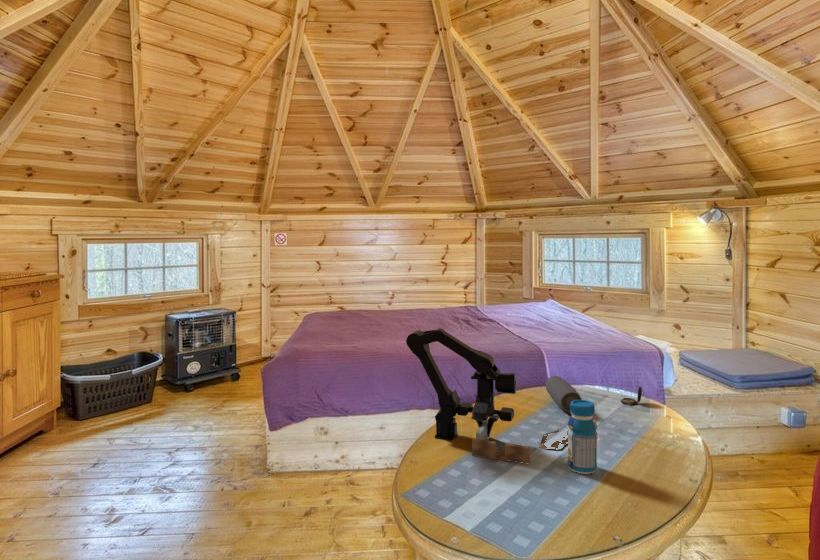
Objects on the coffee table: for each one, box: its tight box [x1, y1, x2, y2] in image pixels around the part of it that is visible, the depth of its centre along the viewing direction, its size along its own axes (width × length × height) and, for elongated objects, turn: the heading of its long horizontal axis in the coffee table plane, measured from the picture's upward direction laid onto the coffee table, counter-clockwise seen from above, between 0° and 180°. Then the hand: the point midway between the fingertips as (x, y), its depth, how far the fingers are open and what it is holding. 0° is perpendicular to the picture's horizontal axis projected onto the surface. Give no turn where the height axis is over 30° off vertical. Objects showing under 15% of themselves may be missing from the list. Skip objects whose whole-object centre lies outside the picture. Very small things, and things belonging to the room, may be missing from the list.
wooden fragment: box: [538, 429, 568, 449], centre depth 165 cm, size 26×11×1 cm, turn 131°
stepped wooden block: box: [471, 437, 531, 464], centre depth 150 cm, size 18×2×5 cm, turn 66°
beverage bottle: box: [567, 399, 599, 475], centre depth 142 cm, size 8×8×20 cm
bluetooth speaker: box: [544, 375, 583, 414], centre depth 196 cm, size 23×9×10 cm, turn 179°
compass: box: [620, 386, 643, 406], centre depth 196 cm, size 8×8×7 cm
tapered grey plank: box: [475, 419, 491, 440], centre depth 162 cm, size 2×12×6 cm, turn 156°
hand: (485, 435), depth 165 cm, fingers closed on tapered grey plank, 1 cm apart
